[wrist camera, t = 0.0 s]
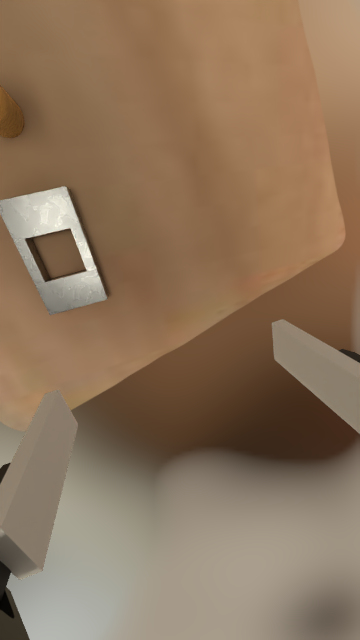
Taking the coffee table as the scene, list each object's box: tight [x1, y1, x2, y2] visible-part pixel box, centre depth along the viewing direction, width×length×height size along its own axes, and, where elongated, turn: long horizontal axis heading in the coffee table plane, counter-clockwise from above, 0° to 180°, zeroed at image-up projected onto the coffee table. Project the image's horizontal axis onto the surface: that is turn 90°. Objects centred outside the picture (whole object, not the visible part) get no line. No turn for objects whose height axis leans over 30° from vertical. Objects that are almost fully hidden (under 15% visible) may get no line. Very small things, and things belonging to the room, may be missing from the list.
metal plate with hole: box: [0, 186, 109, 315], centre depth 34 cm, size 16×9×2 cm, turn 13°
